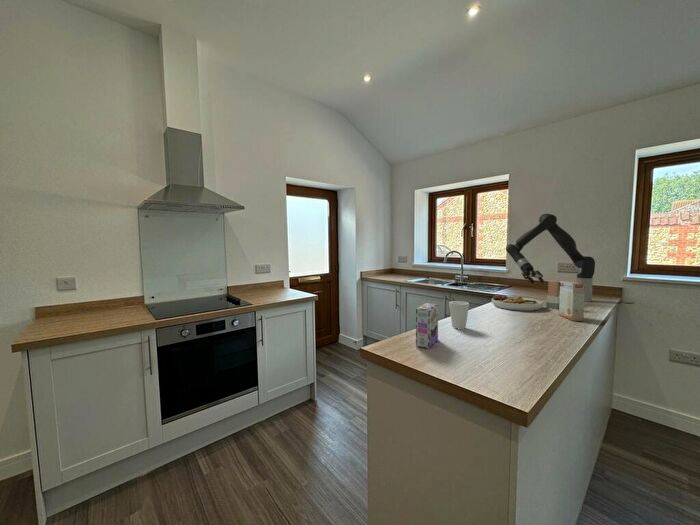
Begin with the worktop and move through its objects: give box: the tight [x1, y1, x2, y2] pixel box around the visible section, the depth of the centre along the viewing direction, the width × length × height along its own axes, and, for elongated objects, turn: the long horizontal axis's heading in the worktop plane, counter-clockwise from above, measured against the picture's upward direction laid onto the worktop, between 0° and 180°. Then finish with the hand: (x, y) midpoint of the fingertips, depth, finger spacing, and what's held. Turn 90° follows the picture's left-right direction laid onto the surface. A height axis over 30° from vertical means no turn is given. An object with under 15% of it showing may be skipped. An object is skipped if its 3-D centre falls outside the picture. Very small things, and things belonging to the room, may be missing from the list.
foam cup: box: [448, 300, 470, 330], centre depth 147 cm, size 10×9×13 cm
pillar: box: [547, 280, 560, 297], centre depth 190 cm, size 4×4×10 cm
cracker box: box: [558, 280, 585, 322], centre depth 163 cm, size 14×6×21 cm, turn 168°
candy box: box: [415, 302, 439, 350], centre depth 124 cm, size 14×6×16 cm, turn 148°
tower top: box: [546, 295, 560, 304], centre depth 191 cm, size 6×6×4 cm
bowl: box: [491, 293, 544, 312], centre depth 195 cm, size 30×30×8 cm
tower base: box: [545, 301, 559, 310], centre depth 191 cm, size 6×6×4 cm
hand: (538, 282), depth 201 cm, fingers open, 8 cm apart
